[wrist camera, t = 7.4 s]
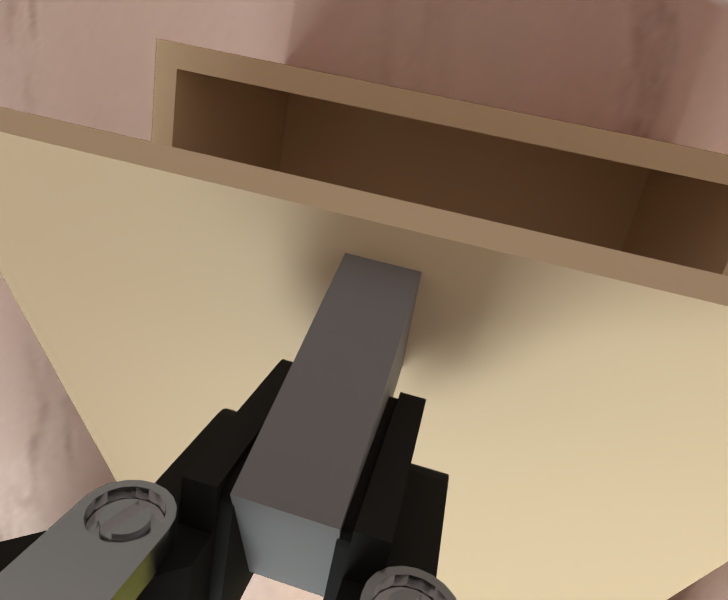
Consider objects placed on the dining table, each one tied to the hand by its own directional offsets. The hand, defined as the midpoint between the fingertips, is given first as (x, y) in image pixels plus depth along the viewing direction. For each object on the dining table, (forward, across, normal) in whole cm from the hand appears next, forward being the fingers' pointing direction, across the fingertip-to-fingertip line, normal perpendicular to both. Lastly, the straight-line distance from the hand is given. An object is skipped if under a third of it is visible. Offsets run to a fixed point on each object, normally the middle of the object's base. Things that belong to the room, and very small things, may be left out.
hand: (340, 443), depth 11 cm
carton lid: (+5, 0, +3) cm, 6 cm away
